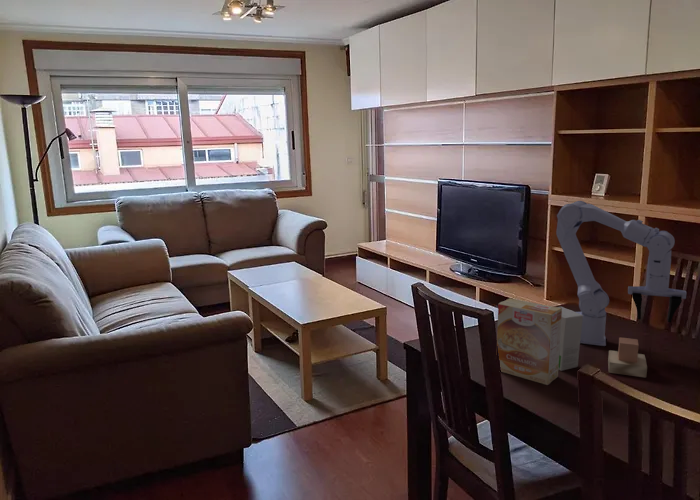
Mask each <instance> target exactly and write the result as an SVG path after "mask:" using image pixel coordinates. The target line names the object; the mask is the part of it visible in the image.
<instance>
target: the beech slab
mask: <svg viewBox="0 0 700 500" xmlns="http://www.w3.org/2000/svg"><path fill="white" fill-rule="evenodd" d="M607 357H608V358H607V359H608V360H607V364H608V366H607V367H608V373H610V374H616V375H617V374H618V375H624V376H625V375H626V376H630V377H631V376H632V377H638V378H647V374H648V373H647V372H648V365H647V359H646V356H645V354H642V353H638V357H637V363H636V362H628V361H621V360H618V350H611V349H610V350H608V356H607Z"/></svg>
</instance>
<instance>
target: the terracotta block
mask: <svg viewBox="0 0 700 500" xmlns="http://www.w3.org/2000/svg"><path fill="white" fill-rule="evenodd" d="M639 346H640V345H639V339H637V338H630V337H628V338H627V337H618V349H617V351H618V360H621V361H628V362H636V363H637V357H638V354H639Z"/></svg>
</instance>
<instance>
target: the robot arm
mask: <svg viewBox="0 0 700 500" xmlns="http://www.w3.org/2000/svg"><path fill="white" fill-rule="evenodd" d="M556 217H557V225H556V232H555V233H556V237H557V240H558V242H559V244H560V247H561V250H562V251H563V255H564V257H565V259H566V261H567V263H568V266H569V269H570V271H571V273H572V275H573V278H574V280H575V283H576V284H577V292H576V293H577V298H578V308H579V310H580V311H575V312H576V313H578V314H581V315H583V320H582V329H581V339H580V344H584V345H591V346H592V345H593V346H599V347H600V346H601V347H605V346H607V340H606V335H605V333H606V321H607V311H606V307H608V306H609V304H610V298H609V294H608V293H607V292H606V291H604V289H603V288H602V286H601V284H600V283H599V282H598V281H596V279H595V276H594V275H593V272H592V269H591V268H590V265H589V262H588V260H587V258H586V256H585V254H584V251H583V248H582V246H581V243H580V241H579V239H578V237H577V232H578V230H579V229H580V226H581V225H582V224H583V223H584V222H586V223H587V222H597V223H599V224H602V225H604V226H607V227H609V228H612V229H615V230H617V231H618V232H621V235H622V237H623V238H624V239H627V240H629V241H630V242H633V243H635V244H637V245H640V246H642V247H645V248H647V250H648V259H647V268H646V279H645V280H646V281H645V285H644V286H643V285H642V286H641V285H640V286H639V285H638V286H633V285H632V286H631V285H630V286H629V285H628V287H627V294H628V295H631V297H632V300H633V302H634V305H635V308H636V313H637V314H636V315H637V320H641V319H642V303H643V296H653V297H654V296H656V297H666V298H667V297H668V298H669V302H668V303H669V305H668V312H667V319H666V320H667V323H672V320H673V317H674V315H675V313H676V311H677V309H678V308H679V307H680V305H681V304H682V301H683V300H686V299H687V291H686V290H682V289H676V288H669V287H670V276H671V267H672V266H671V265H672V249H673V248H674V246H675V244H676V243H675V241H676V240H675V237H674V236H673V234H671V233H670V232H668V231H667V230H660V228H658V227H655V228H654V227H652V226H648V225H647V224H645V223H643V222H644V221H643V220H641V219H637V220H636V219H631V220H629V221H626V220H624V219H623V218H620V217H618V216H617V215H615V214H613V213H611V212H608V211H606V210H604V209H602V208H600V207H598V206H596V205H594V204H592V203H589V202H588V203H587V202H585V201H583V200H577V201H574V202H572V203H566V204H564V205H562V206H561V208H560V209H559V211H558V213H557V214H556ZM642 295H643V296H642ZM682 299H683V300H682Z"/></svg>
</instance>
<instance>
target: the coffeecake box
mask: <svg viewBox="0 0 700 500" xmlns="http://www.w3.org/2000/svg"><path fill="white" fill-rule="evenodd" d="M497 305H498V306H497V309H498V310H497V329H496V330H497V333H496V334H497V335H496V347H497V346H498V353H499V360H500V367H501V372H502V373H504V374H508V375H510V376H511V375H512V376H515V377H518V378H521V379H525V380H529V381H532V382H535V383H539V384H541V385H545V386H548V385H550V384H551V383H552V382H553V381H554V380H556V379H557V378H559V369H558V368H559V351H560V334H561V317H562V308H557V307H558V306H552V305H546V304H541V303H536V302H533V301H532V302H531V301H527V300H526V301H525V300H520V299H516V298H515V299H514V298H511V297H509V298H507V299H506V300H504V301H500V302H499V303H498V304H497Z"/></svg>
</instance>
